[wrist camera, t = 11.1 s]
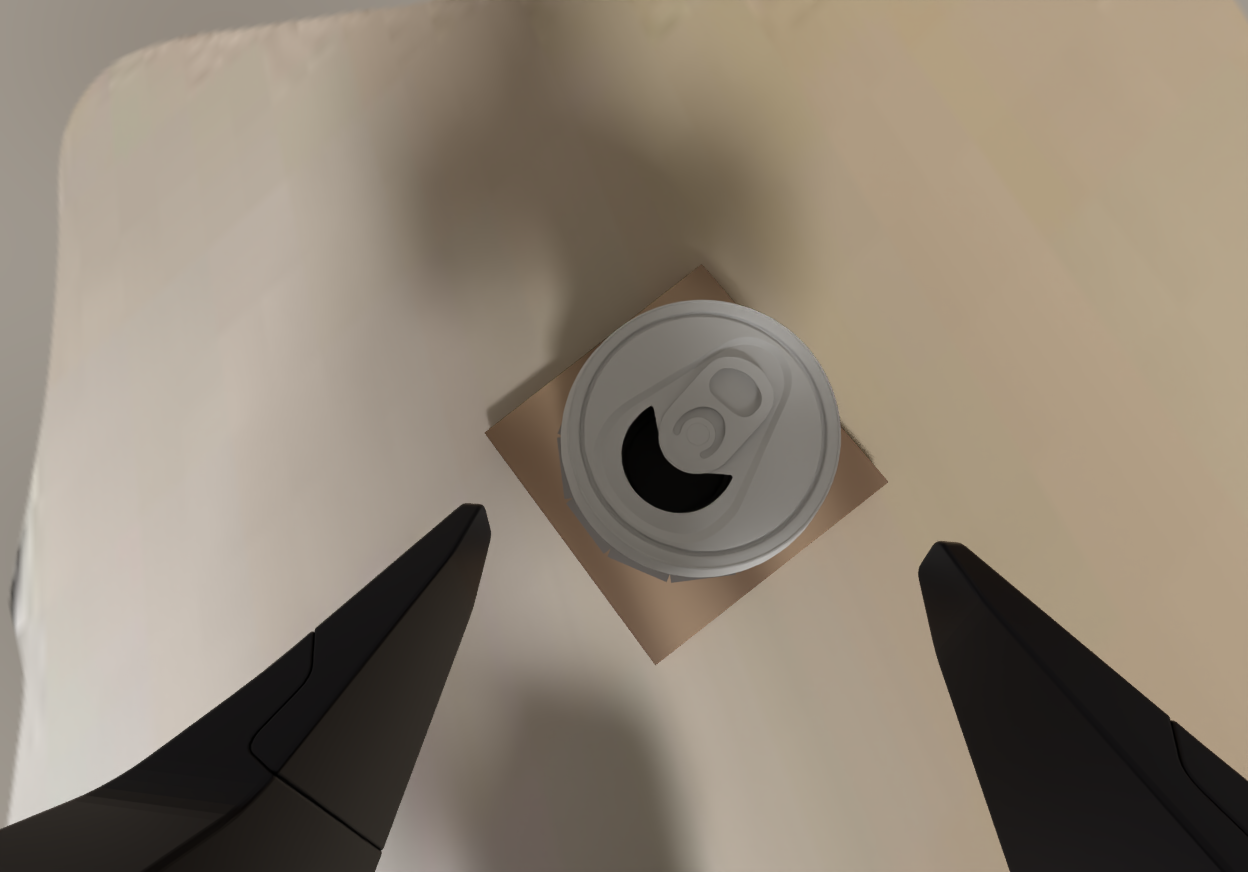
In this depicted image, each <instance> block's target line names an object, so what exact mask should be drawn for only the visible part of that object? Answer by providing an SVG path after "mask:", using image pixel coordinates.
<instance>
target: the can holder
mask: <svg viewBox="0 0 1248 872" xmlns="http://www.w3.org/2000/svg"><path fill="white" fill-rule="evenodd" d="M689 300H717V301H724V302H730V303H734V304H736V303H735V302H734V301H733V300H732V299H731V298H730V296H729V295H728V294H727V293H726V292H725V291H724V289H723V288H722V287H721V286H720V285H719V284H718V282H717V281H716V280H715V279H714V278H713V277H712V275H711V274H710V273H709V272H708V271H707V270H706V268H705V267H704V266H703V265H702V264H701V265H700V266H699V267H697V268H696V269H695V270H694V271H692V272H691V273H690V274H688V275H687V276H686V277H684V278H683V279H682V280H681V281H679V282H678V283H677V284H675V285H674V286H673V287H672V288H670V289H669V290H668V291H666V292H665V293H664V294H663V295H661V296H660V297H659V298H657V299H656V300H655V301H654V302H652V303H651V304H650V305H648V306H647V307H646V308H645V309H643V310H642V311H641V312H639V313H638V314H637V315H636V316H638V315H640V314H642V313H645V312H647V311H649V310H652V309H654V308H657V307H660V306H663V305H667V304H670V303H675V302H680V301H689ZM636 316H634V317H633V318H635V317H636ZM633 318H632V319H633ZM630 320H631V319H630ZM630 320H629V321H630ZM608 337H609V336H608ZM608 337H607V338H608ZM607 338H606V339H607ZM606 339H605V340H606ZM605 340H603V341H602V342H601V343H599V344H598V345H597V346H596V347H594V348H593V349H592V350H590V351H589V352H588V353H587V354H585V355H584V356H583V357H581V358H580V359H579V360H578V361H576V362H575V363H574V364H572V365H571V366H570V367H569V368H567V369H566V370H565V371H563V372H562V373H561V374H560V375H558V376H557V377H556V378H554V379H553V380H552V381H551V382H549V383H548V384H547V385H545V386H544V387H543V388H542V389H540V390H539V391H538V392H536V393H535V394H534V395H533V396H531V397H530V398H529V399H527V400H526V401H525V402H523V403H522V404H521V405H520V406H518V407H517V408H516V409H514V410H513V411H512V412H511V413H509V414H508V415H507V416H505V417H504V418H503V419H502V420H500V421H499V422H498V423H496V424H495V425H494V426H493V427H491V428H490V429H489V430H487V431H486V432H485V434H486V435H487V437H488V438H489V440H490V441H491V442H492V444H493V445H494V446H495V448H496V449H497V450H498V452H499V453H500V455H501V456H502V457H503V459H504V460H505V461H506V463H507V464H508V465H509V467H510V468H511V469H512V471H513V472H514V474H515V475H516V476H517V478H518V479H519V480H520V482H521V483H522V484H523V486H524V487H525V489H526V490H527V491H528V493H529V494H530V495H531V497H532V498H533V499H534V501H535V502H536V503H537V505H538V506H539V508H540V509H541V510H542V512H543V513H544V514H545V516H546V517H547V518H548V520H549V521H550V523H551V524H552V525H553V527H554V528H555V529H556V531H557V532H558V533H559V535H560V536H561V537H562V539H563V540H564V542H565V543H566V544H567V546H568V547H569V548H570V550H571V551H572V552H573V554H574V555H575V556H576V558H577V559H578V561H579V562H580V563H581V565H582V566H583V567H584V569H585V570H586V571H587V573H588V574H589V576H590V577H591V578H592V580H593V581H594V582H595V584H596V585H597V586H598V588H599V589H600V590H601V592H602V593H603V595H604V596H605V597H606V599H607V600H608V601H609V603H610V604H611V605H612V607H613V608H614V610H615V611H616V612H617V614H618V615H619V616H620V618H621V619H622V620H623V622H624V623H625V624H626V626H627V627H628V629H629V630H630V631H631V633H632V634H633V635H634V637H635V638H636V639H637V641H638V642H639V643H640V645H641V646H642V648H643V649H644V650H645V652H646V653H647V654H648V656H649V657H650V658H651V660H652V661H653V663H654V664H655V665H656V664H658V663H659V662H660V661H661V660H663V659H664V658H665V657H667V656H668V655H669V654H670V653H672V652H673V651H674V650H675V649H677V648H678V647H679V646H681V645H682V644H683V643H684V642H686V641H687V640H688V639H689V638H691V637H692V636H693V635H695V634H696V633H697V632H698V631H700V630H701V629H702V628H703V627H705V626H706V625H707V624H708V623H710V622H711V621H712V620H714V619H715V618H716V617H717V616H719V615H720V614H721V613H722V612H724V611H725V610H726V609H728V608H729V607H730V606H731V605H733V604H734V603H735V602H736V601H738V600H739V599H740V598H742V597H743V596H744V595H745V594H747V593H748V592H749V591H750V590H752V589H753V588H754V587H756V586H757V585H758V584H759V583H761V582H762V581H763V580H764V579H766V578H767V577H768V576H770V575H771V574H772V573H773V572H775V571H776V570H777V569H778V568H780V567H781V566H782V565H784V564H785V563H786V562H787V561H789V560H790V559H791V558H792V557H794V556H795V555H796V554H798V553H799V552H800V551H801V550H803V549H804V548H805V547H806V546H808V545H809V544H810V543H812V542H813V541H814V540H815V539H817V538H818V537H819V536H820V535H822V534H823V533H824V532H825V531H827V530H828V529H829V528H831V527H832V526H833V525H834V524H836V523H837V522H838V521H839V520H841V519H842V518H843V517H845V516H846V515H847V514H848V513H850V512H851V511H852V510H853V509H855V508H856V507H857V506H859V505H860V504H861V503H862V502H864V501H865V500H866V499H867V498H869V497H870V496H871V495H873V494H874V493H875V492H876V491H878V490H879V489H880V488H881V487H883V486H884V485H885V484H887V483H888V481H887V480H886V478H885V477H884V476H883V475H882V474H881V473H880V471H879V470H878V469H877V468H876V467H875V466H874V464H873V463H872V462H871V461H870V460H869V459H868V457H867V456H866V455H865V454H864V453H863V452H862V450H861V449H860V448H859V447H858V446H857V445H856V443H855V442H854V441H853V440H852V439H851V438H850V436H849V435H848V434H847V433H846V432H845V431H844V429H843V428H842V427H841V447H840V455H839V461H838V466H837V470H836V474H835V477H834V480H833V483H832V485H831V488H830V490H829V492H828V494H827V496H826V498H825V500H824V502H823V504H822V505H821V507H820V508H819V510H818V511H817V513H816V514H815V516H814V518H813V519H812V521H811V522H810V523H809V525H808V526H807V527H806V529H805V530H804V531H803V532H802V533H801V534H800V535H799V536H798V537H797V538H796V539H795V540H794V541H793V542H792V543H791V544H790V545H789V546H788V547H786V548H785V549H784V550H782V551H781V552H779V553H778V554H776V555H775V556H773V557H772V558H770V559H768V560H767V561H765V562H763V563H761V564H759V565H756V566H754V567H752V568H749V569H746V570H743V571H740V572H736V573H732V574H728V575H723V576H716V577H685V576H678V575H672V574H667V573H663V572H660V571H657V570H654V569H651V568H648V567H645V566H643V565H641V564H639V563H637V562H635V561H634V560H632V559H630V558H628V557H626V556H625V555H623V554H622V553H620V552H619V551H618V550H616V549H615V548H614V547H612V546H611V545H610V544H609V543H608V542H606V541H605V540H604V539H603V538H602V537H601V536H600V535H599V534H598V533H597V532H596V530H595V529H594V528H593V527H592V526H591V525H590V523H589V522H588V521H587V519H586V518H585V516H584V515H583V513H582V512H581V510H580V508H579V507H578V505H577V503H576V501H575V499H574V497H573V495H572V492H571V489H570V486H569V483H568V480H567V477H566V473H565V470H564V466H563V462H562V455H561V426H562V419H563V412H564V408H565V404H566V401H567V398H568V395H569V392H570V390H571V387H572V385H573V383H574V381H575V379H576V377H577V375H578V373H579V372H580V370H581V368H582V367H583V365H584V364H585V362H586V361H587V360H588V358H589V357H590V356H591V354H592V353H593V352H594V351H595V350H596V349H597V348H598V347H599V346H600V345H601V344H602V343H603V342H604V341H605Z"/></svg>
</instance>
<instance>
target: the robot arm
mask: <svg viewBox="0 0 1248 872" xmlns="http://www.w3.org/2000/svg"><path fill="white" fill-rule="evenodd" d="M490 538H491V530H490V525H489V522H488V518H487V514H486V510H485V508H484V506H483V505H481V504H471V503H465V504H462V505H460V506H459V507H458V508H457V509H456V510H454V511H453V512H452V513H451V514H450V515H449V516H447V517H446V518H445V519H444V520H443V521H441V522H440V523H439V524H438V525H437V526H436V527H434V528H433V529H432V530H431V531H430V532H428V533H427V534H426V535H425V536H424V537H423V538H421V539H420V540H419V541H418V542H417V543H416V544H414V545H413V546H412V547H411V548H410V549H408V550H407V551H406V552H405V553H404V554H403V555H401V556H400V557H399V558H398V559H397V560H395V561H394V562H393V563H392V564H391V565H390V566H388V567H387V568H386V569H385V570H384V571H382V572H381V573H380V574H379V575H378V576H377V577H375V578H374V579H373V580H372V581H371V582H369V583H368V584H367V585H366V586H365V587H364V588H362V589H361V590H360V591H359V592H358V593H357V594H355V595H354V596H353V597H352V598H351V599H349V600H348V601H347V602H346V603H345V604H344V605H342V606H341V607H340V608H339V609H338V610H336V611H335V612H334V613H333V614H332V615H331V616H329V617H328V618H327V619H326V620H325V621H323V622H322V623H321V624H320V625H319V626H318V627H316V629H315V632H310V633H309V634H308V635H307V636H306V637H304V638H303V639H302V640H301V641H300V642H298V643H297V644H296V645H295V646H294V647H293V648H291V649H290V650H289V651H288V652H286V653H285V654H284V655H283V656H282V657H280V658H279V659H278V660H277V661H275V662H274V663H273V664H272V665H270V666H269V667H268V668H267V669H266V670H264V671H263V672H262V673H260V674H259V675H258V676H257V677H255V678H254V679H253V680H251V681H250V682H249V683H247V684H246V685H245V686H243V687H242V688H241V689H239V690H238V691H237V692H235V693H234V694H233V695H232V696H230V697H229V698H228V699H226V700H225V701H223V702H222V703H221V704H219V705H218V706H217V707H215V708H214V709H213V710H211V711H210V712H208V713H207V714H206V715H204V716H203V717H202V718H200V719H199V720H198V721H196V722H195V723H193V724H192V725H191V726H189V727H188V728H187V729H185V730H184V731H183V732H181V733H180V734H179V735H177V736H176V737H174V738H173V739H172V740H170V741H169V742H168V743H166V744H165V745H164V746H162V747H161V748H159V749H158V750H157V751H155V752H154V753H153V754H151V755H150V756H149V757H147V758H146V759H144V760H143V761H141V762H140V763H139V764H137V765H136V766H134V767H133V768H131V769H130V770H128V771H126V772H125V773H123V774H122V775H120V776H118V777H117V778H115V779H113V780H111V781H110V782H108V783H106V784H104V785H102V786H101V787H99V788H97V789H95V790H93V791H91V792H89V793H87V794H85V795H82V796H80V797H78V798H75V799H73V800H71V801H68V802H66V803H63V804H61V805H58V806H56V807H54V808H51V809H49V810H46V811H44V812H41V813H39V814H36V815H34V816H31V817H29V818H26V819H24V820H22V821H19V822H17V823H14V824H12V825H9V826H7V827H4V828H2V829H0V872H375V870H376V867H377V865H378V862H379V859H380V857H381V854H382V852H381V850H383V848H384V845H385V843H386V840H387V837H388V835H389V832H390V829H391V827H392V824H393V821H394V819H395V816H396V813H397V811H398V808H399V805H400V803H401V800H402V797H403V795H404V792H405V789H406V787H407V784H408V781H409V779H410V776H411V773H412V771H413V768H414V765H415V763H416V760H417V757H418V755H419V752H420V749H421V747H422V744H423V741H424V739H425V736H426V733H427V731H428V728H429V725H430V723H431V720H432V717H433V714H434V712H435V709H436V706H437V704H438V701H439V698H440V696H441V693H442V690H443V688H444V685H445V682H446V680H447V677H448V674H449V672H450V669H451V666H452V664H453V661H454V658H455V656H456V653H457V650H458V648H459V645H460V642H461V640H462V637H463V634H464V632H465V629H466V626H467V624H468V621H469V618H470V615H471V612H472V610H473V606H474V603H475V599H476V595H477V591H478V587H479V583H480V579H481V575H482V571H483V567H484V563H485V559H486V555H487V551H488V547H489V543H490ZM918 577H919V582H920V586H921V591H922V595H923V600H924V604H925V609H926V613H927V618H928V623H929V627H930V632H931V636H932V641H933V644H934V648H935V652H936V656H937V659H938V662H939V665H940V668H941V671H942V674H943V677H944V680H945V683H946V686H947V689H948V692H949V694H950V697H951V700H952V703H953V706H954V709H955V712H956V715H957V718H958V721H959V724H960V727H961V730H962V733H963V736H964V738H965V741H966V744H967V747H968V750H969V753H970V756H971V759H972V762H973V765H974V768H975V771H976V774H977V777H978V780H979V782H980V785H981V788H982V791H983V794H984V797H985V800H986V803H987V806H988V809H989V812H990V815H991V818H992V821H993V824H994V826H995V829H996V832H997V835H998V838H999V841H1000V844H1001V847H1002V850H1003V853H1004V856H1005V859H1006V862H1007V865H1008V868H1009V870H1010V872H1248V781H1247V780H1246V779H1245V778H1244V777H1242V776H1241V775H1240V774H1239V773H1238V772H1236V771H1235V770H1234V769H1233V768H1231V767H1230V766H1229V765H1228V764H1226V763H1225V762H1224V761H1223V760H1222V759H1220V758H1219V757H1218V756H1217V755H1215V754H1214V753H1213V752H1212V751H1210V750H1209V749H1208V748H1207V747H1206V746H1204V745H1203V744H1202V743H1201V742H1200V741H1198V740H1197V739H1196V738H1195V737H1194V736H1192V735H1191V734H1190V733H1189V732H1188V731H1186V730H1185V729H1184V728H1183V727H1182V726H1180V725H1179V724H1178V723H1177V722H1175V721H1172V720H1171V721H1170V717H1169V716H1168V715H1167V714H1166V713H1165V712H1163V711H1162V710H1161V709H1160V708H1159V707H1157V706H1156V705H1155V704H1154V703H1153V702H1151V701H1150V700H1149V699H1148V698H1147V697H1145V696H1144V695H1143V694H1142V693H1141V692H1139V691H1138V690H1137V689H1136V688H1135V687H1133V686H1132V685H1131V684H1130V683H1129V682H1127V681H1126V680H1125V679H1124V678H1123V677H1121V676H1120V675H1119V674H1118V673H1117V672H1116V671H1114V670H1113V669H1112V668H1111V667H1110V666H1108V665H1107V664H1106V663H1105V662H1104V661H1102V660H1101V659H1100V658H1099V657H1098V656H1096V655H1095V654H1094V653H1093V652H1092V651H1090V650H1089V649H1088V648H1087V647H1086V646H1084V645H1083V644H1082V643H1081V642H1080V641H1078V640H1077V639H1076V638H1075V637H1074V636H1072V635H1071V634H1070V633H1069V632H1068V631H1066V630H1065V629H1064V628H1063V627H1062V626H1060V625H1059V624H1058V623H1057V622H1056V621H1054V620H1053V619H1052V618H1051V617H1050V616H1048V615H1047V614H1046V613H1045V612H1044V611H1043V610H1041V609H1040V608H1039V607H1038V606H1037V605H1035V604H1034V603H1033V602H1032V601H1031V600H1029V599H1028V598H1027V597H1026V596H1025V595H1023V594H1022V593H1021V592H1020V591H1019V590H1017V589H1016V588H1015V587H1014V586H1013V585H1011V584H1010V583H1009V582H1008V581H1007V580H1005V579H1004V578H1003V577H1002V576H1001V575H999V574H998V573H997V572H996V571H995V570H993V569H992V568H991V567H990V566H989V565H987V564H986V563H985V562H984V561H983V560H981V559H980V558H979V557H978V556H977V555H975V554H974V553H973V552H972V551H971V550H970V549H968V548H967V547H966V546H964V545H963V544H961V543H957V542H947V541H938V542H936V543H935V544H934V545H933V546H932V548H931V549H930V551H929V552H928V554H927V555H926V557H925V558H924V560H923V561H922V563H921V565H920V567H919V571H918Z"/></svg>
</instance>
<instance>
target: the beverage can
mask: <svg viewBox="0 0 1248 872" xmlns="http://www.w3.org/2000/svg"><path fill="white" fill-rule="evenodd" d="M840 447H841V426H840V417H839V411H838V406H837V402H836V398H835V395H834V392H833V389H832V387H831V385H830V382H829V380H828V378H827V376H826V374H825V372H824V370H823V368H822V366H821V365H820V363H819V362H818V360H817V359H816V357H815V356H814V355H813V353H812V352H811V351H810V350H809V348H808V347H807V346H806V345H805V344H804V343H803V342H802V341H801V340H800V339H799V338H798V337H797V336H796V335H795V334H794V333H793V332H791V331H790V330H789V329H788V328H786V327H785V326H783V325H782V324H780V323H779V322H777V321H776V320H774V319H773V318H771V317H769V316H767V315H765V314H763V313H761V312H759V311H756V310H754V309H751V308H749V307H746V306H742V305H739V304H734V303H730V302H724V301H717V300H689V301H680V302H675V303H670V304H667V305H663V306H660V307H657V308H654V309H652V310H649V311H647V312H645V313H642V314H640V315H638V316H636V317H635V318H633V319H631V320H630V321H628V322H627V323H625V324H624V325H622V326H621V327H619V328H618V329H617V330H616V331H615V332H613V333H612V334H611V335H610V336H609V337H608V338H607V339H606V340H605V341H604V342H603V343H602V344H601V345H600V346H599V347H598V348H597V349H596V350H595V351H594V352H593V353H592V354H591V356H590V357H589V358H588V360H587V361H586V362H585V364H584V365H583V367H582V368H581V370H580V372H579V373H578V375H577V377H576V379H575V381H574V383H573V385H572V387H571V390H570V392H569V395H568V398H567V401H566V404H565V408H564V412H563V419H562V426H561V455H562V462H563V466H564V470H565V473H566V477H567V480H568V483H569V486H570V489H571V492H572V495H573V497H574V499H575V501H576V503H577V505H578V507H579V508H580V510H581V512H582V513H583V515H584V516H585V518H586V519H587V521H588V522H589V523H590V525H591V526H592V527H593V528H594V529H595V530H596V532H597V533H598V534H599V535H600V536H601V537H602V538H603V539H604V540H605V541H606V542H608V543H609V544H610V545H611V546H612V547H614V548H615V549H616V550H618V551H619V552H620V553H622V554H623V555H625V556H626V557H628V558H630V559H632V560H634V561H635V562H637V563H639V564H641V565H643V566H645V567H648V568H651V569H654V570H657V571H660V572H663V573H667V574H672V575H678V576H685V577H716V576H723V575H728V574H732V573H736V572H740V571H743V570H746V569H749V568H752V567H754V566H756V565H759V564H761V563H763V562H765V561H767V560H768V559H770V558H772V557H773V556H775V555H776V554H778V553H779V552H781V551H782V550H784V549H785V548H786V547H788V546H789V545H790V544H791V543H792V542H793V541H794V540H795V539H796V538H797V537H798V536H799V535H800V534H801V533H802V532H803V531H804V530H805V529H806V527H807V526H808V525H809V523H810V522H811V521H812V519H813V518H814V516H815V514H816V513H817V511H818V510H819V508H820V507H821V505H822V504H823V502H824V500H825V498H826V496H827V494H828V492H829V490H830V488H831V485H832V483H833V480H834V477H835V474H836V470H837V466H838V461H839V455H840Z"/></svg>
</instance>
